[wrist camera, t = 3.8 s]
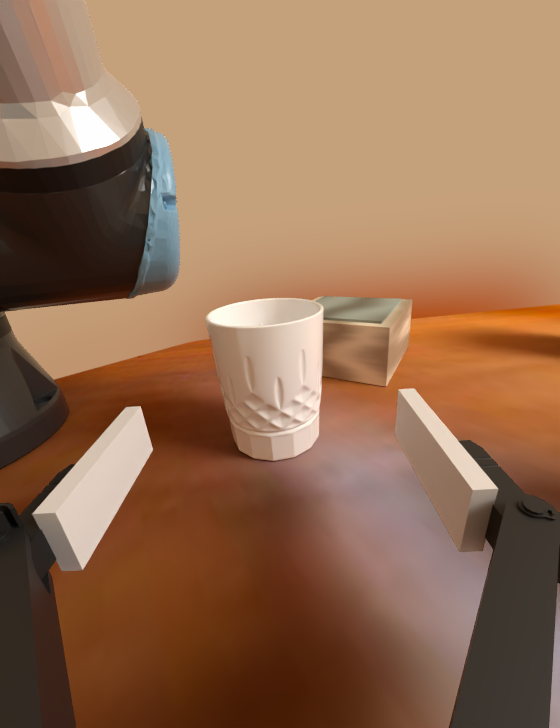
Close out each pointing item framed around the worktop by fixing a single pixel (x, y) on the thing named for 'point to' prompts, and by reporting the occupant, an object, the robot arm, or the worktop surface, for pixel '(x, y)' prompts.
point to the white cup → (270, 373)
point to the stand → (364, 337)
